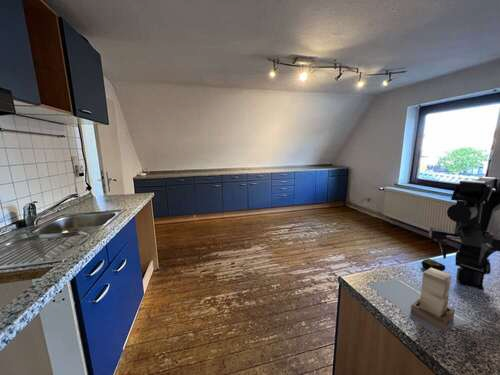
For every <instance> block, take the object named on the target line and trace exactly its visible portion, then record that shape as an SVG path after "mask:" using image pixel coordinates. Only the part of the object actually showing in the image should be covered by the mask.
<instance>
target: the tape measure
mask: <svg viewBox="0 0 500 375" xmlns="http://www.w3.org/2000/svg"><path fill="white" fill-rule="evenodd" d="M421 267H422V268H423V269H424V270H425V271H426V270H428V269H429V268H434V269H437V270H439V271H442V272H444V271H446V265H444V264H443V263H441V262H438V261H436V260H433V259H432V258H431V259H430V258H428V259H426V258H425V259H423V260H422V261H421Z"/></svg>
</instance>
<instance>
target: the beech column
mask: <svg viewBox="0 0 500 375" xmlns="http://www.w3.org/2000/svg"><path fill="white" fill-rule="evenodd" d="M451 280H452V274H450V273H447V272H444V271H439V270H437V269H434V268H429V269H428V270H426V269H425V270H424V271H423V273H422V280H421V281H422V282H421V298H420V306H419V307H420V308H422V309H424V310H426V311H428V312H430V313H432V314H434V315H436V316H438V317H441V316H442V315H443V314H445V313H446V312H447V306H448V303H449V295H450V289H451V282H452V281H451Z"/></svg>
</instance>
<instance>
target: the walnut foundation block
mask: <svg viewBox="0 0 500 375" xmlns="http://www.w3.org/2000/svg"><path fill="white" fill-rule="evenodd" d="M419 306H420V299H418V300H417V301H416V302H415V303H413V304H412V305H411V313H412V314H414V315H415V316H417V317H419V318H421V319H423V320H425V321H427V322H429V323H431V324H432V325H434V326H436V327H438V328H440V329H442V330H441V331H444V330H443V329H444V328H445V327H446V326H447V325H448V324H449V323H450V322H451V321H452V320H453V318H454V311H455V309H454V310H453V308H452V307H451V308H452V309H451V308H449V307H450V306H449V307H447V312H446V313H445V314H443V315H442V316H441V317H438V316H436V315H434V314H432V313H430V312H428V311H426V310H424V309H422V308H420V307H419Z"/></svg>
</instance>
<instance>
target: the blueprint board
mask: <svg viewBox="0 0 500 375" xmlns="http://www.w3.org/2000/svg"><path fill="white" fill-rule="evenodd" d="M367 285H368V286H369V287H371V288H372V289H373V290H375V291H376V292H377V293H378V294H380V295H381V296H383V297H384V298H385V299H386V300H388V302H390V303H391V304H393V305H394V306H396V307H397V308H398V309H399V310H401V311H402V312H403V313H404V314H406V315H408V316H409V317H410V318H412V319H413V320H414V321H415V322H417V323H418V324H419V325H421V326H422V327H423V328H425V329H426V330H428V331H429V332H430V333H431V334H432V333H433V334H434V333H436V332H440V331H445V330H449V329H452V328H455V327H460V326H464V325H467V324H471V323H474V322H475V321H473V320H472V319H470V318H469V317H467V316H465V315H464V314H462V313H460V312H459V311H457V310H455V309H453V307H451V306H448V305H447V307H449V308H451V309H453V310H455V311H454V318H453V320H452V321H451V322H450V323H449V324H448V325H447V326H446V327H445V328H444V329H443V330H442V329H440V328H438V327H436V326H434V325H432V324H431V323H429V322H427V321H425V320H423V319H421V318H419V317H417V316H415V315H414V314H412V313H411V305H412V304H413V303H415V302H416V301H417V300H418V299H420V298H421V289H422V288H421V289H420V288H419V287H418V286H416V285H414V284H412V283H410V282H409V281H407V280H405V279H404V278H403V277H398V278H394V279H393V278H392V279H389V280H388V279H387V280H383V281H377V282H372V283H367Z"/></svg>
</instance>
